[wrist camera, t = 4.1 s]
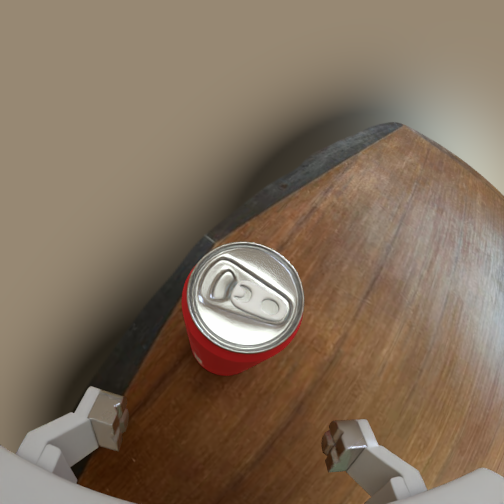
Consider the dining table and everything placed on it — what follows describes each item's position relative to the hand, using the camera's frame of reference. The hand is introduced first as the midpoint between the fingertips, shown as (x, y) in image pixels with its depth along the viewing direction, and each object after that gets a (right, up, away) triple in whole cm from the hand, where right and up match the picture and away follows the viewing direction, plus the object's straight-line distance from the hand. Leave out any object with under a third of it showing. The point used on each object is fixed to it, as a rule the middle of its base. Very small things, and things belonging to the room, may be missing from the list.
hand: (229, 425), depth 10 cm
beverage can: (-1, -1, +12) cm, 12 cm away
